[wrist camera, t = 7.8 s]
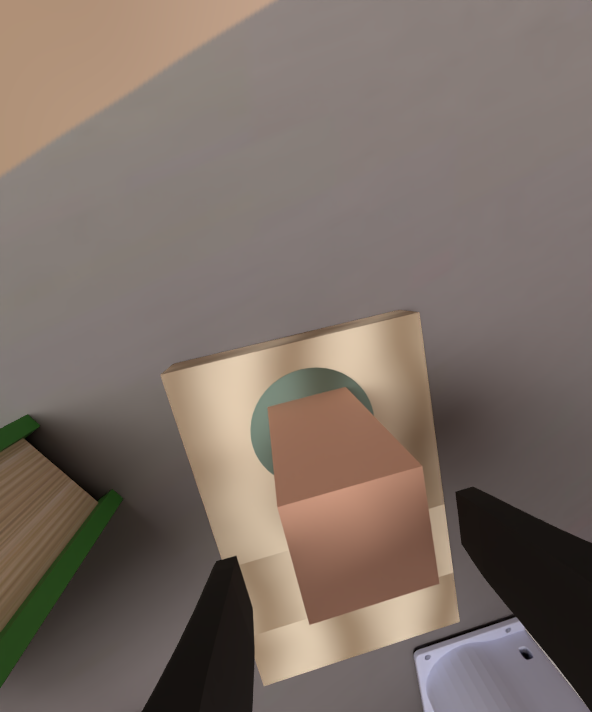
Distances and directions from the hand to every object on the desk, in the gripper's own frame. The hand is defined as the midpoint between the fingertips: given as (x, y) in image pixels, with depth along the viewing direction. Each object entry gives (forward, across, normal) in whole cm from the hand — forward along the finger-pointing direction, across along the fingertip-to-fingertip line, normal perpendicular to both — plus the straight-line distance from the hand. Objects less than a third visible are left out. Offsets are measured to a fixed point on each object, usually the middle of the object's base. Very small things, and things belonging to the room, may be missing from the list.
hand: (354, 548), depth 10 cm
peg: (+8, 0, 0) cm, 8 cm away
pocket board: (+10, 0, +6) cm, 12 cm away
